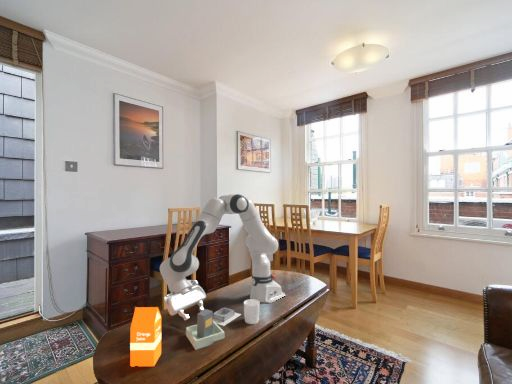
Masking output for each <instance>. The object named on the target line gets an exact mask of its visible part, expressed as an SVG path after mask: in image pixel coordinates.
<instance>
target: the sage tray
mask: <svg viewBox="0 0 512 384" xmlns="http://www.w3.org/2000/svg"><path fill="white" fill-rule="evenodd" d="M225 334H226V333H225V331H224V330H223V329H222V327H220V325H219V324H217V323H215V322H214V321H213V334H212V335H210V336H207V337H204V338H199V337H197V324H193V325H190V326H187V327H185V336H186V338H187V339H188V341H189V343H190V344H191V345H192V347H193V348H194V350H196V351H197V350H200V349H203V348H206V347H209V346H211V345H215V344H216V343H215V342H217V341H220V340H223V339H225V337H226V336H225Z"/></svg>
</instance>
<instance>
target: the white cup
mask: <svg viewBox="0 0 512 384" xmlns="http://www.w3.org/2000/svg"><path fill="white" fill-rule="evenodd" d="M260 303H261V302H259V301H258V300H255V299H250V298H249V299H246V300H244V301H243V312H244V315H243V316H244V322H245V323H246V324H249V325H255V324H257V323H259V319H260Z"/></svg>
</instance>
